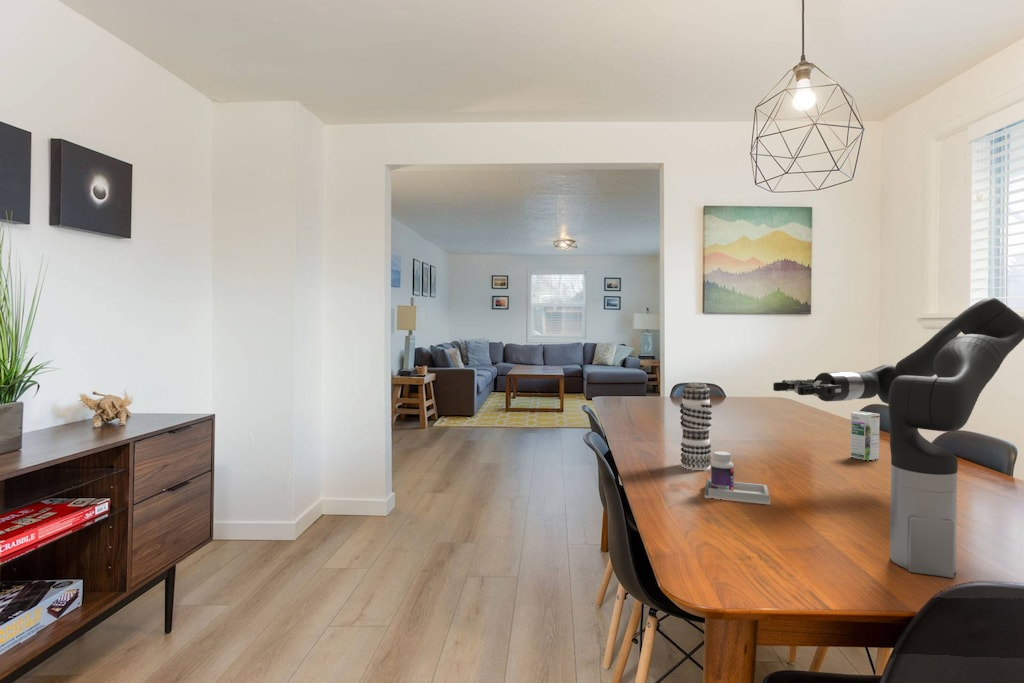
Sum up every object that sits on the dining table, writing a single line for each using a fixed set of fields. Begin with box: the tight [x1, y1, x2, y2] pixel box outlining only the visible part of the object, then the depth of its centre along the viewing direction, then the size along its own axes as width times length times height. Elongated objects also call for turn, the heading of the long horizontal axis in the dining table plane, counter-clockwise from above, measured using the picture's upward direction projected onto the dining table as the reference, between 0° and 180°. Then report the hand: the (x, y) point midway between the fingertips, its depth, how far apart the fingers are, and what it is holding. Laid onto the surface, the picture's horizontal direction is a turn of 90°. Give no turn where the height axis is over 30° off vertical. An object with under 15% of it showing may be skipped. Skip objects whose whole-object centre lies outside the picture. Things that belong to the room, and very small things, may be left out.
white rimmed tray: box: [704, 478, 771, 506], centre depth 132 cm, size 14×10×2 cm
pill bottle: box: [710, 450, 735, 491], centre depth 133 cm, size 5×5×10 cm
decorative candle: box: [679, 382, 713, 471], centre depth 158 cm, size 9×9×25 cm
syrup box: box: [849, 410, 881, 462], centre depth 166 cm, size 6×6×14 cm
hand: (786, 388), depth 135 cm, fingers open, 8 cm apart
